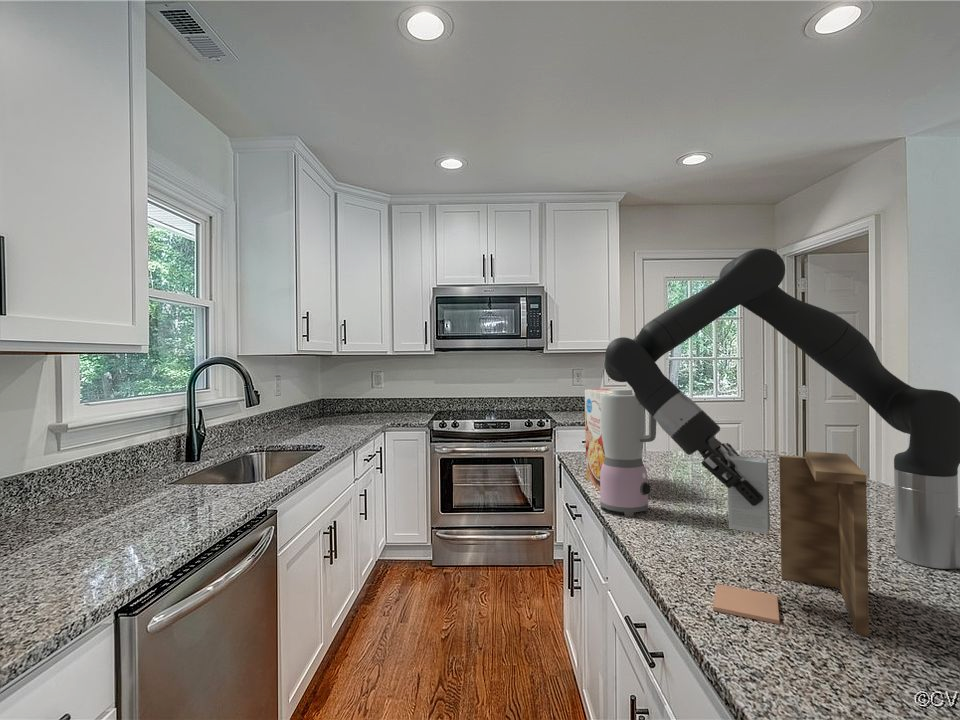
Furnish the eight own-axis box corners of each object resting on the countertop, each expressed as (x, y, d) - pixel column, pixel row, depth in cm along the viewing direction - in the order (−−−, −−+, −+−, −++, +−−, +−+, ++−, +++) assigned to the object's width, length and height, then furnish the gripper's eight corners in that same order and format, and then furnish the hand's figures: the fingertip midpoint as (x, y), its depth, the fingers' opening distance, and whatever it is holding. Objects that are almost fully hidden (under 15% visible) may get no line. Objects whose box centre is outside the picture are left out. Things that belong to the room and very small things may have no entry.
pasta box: (586, 477, 168) (584, 389, 168) (609, 477, 168) (608, 389, 168) (605, 496, 145) (603, 394, 145) (632, 495, 145) (630, 393, 145)
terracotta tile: (777, 598, 82) (777, 595, 82) (779, 624, 74) (779, 620, 74) (716, 587, 86) (716, 583, 86) (713, 610, 78) (713, 606, 78)
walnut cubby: (848, 586, 85) (846, 453, 85) (869, 636, 70) (866, 474, 70) (781, 575, 90) (778, 449, 90) (786, 619, 75) (783, 468, 75)
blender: (590, 509, 132) (588, 390, 132) (616, 500, 140) (614, 387, 140) (644, 523, 120) (642, 392, 120) (669, 512, 128) (667, 389, 128)
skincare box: (770, 527, 85) (769, 457, 85) (768, 535, 81) (767, 462, 81) (730, 521, 88) (729, 454, 88) (727, 528, 84) (726, 458, 84)
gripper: (690, 412, 83) (774, 495, 76) (709, 405, 95) (784, 477, 87) (658, 441, 86) (736, 523, 79) (681, 431, 98) (751, 502, 91)
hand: (761, 498), depth 83 cm, fingers closed on skincare box, 4 cm apart
